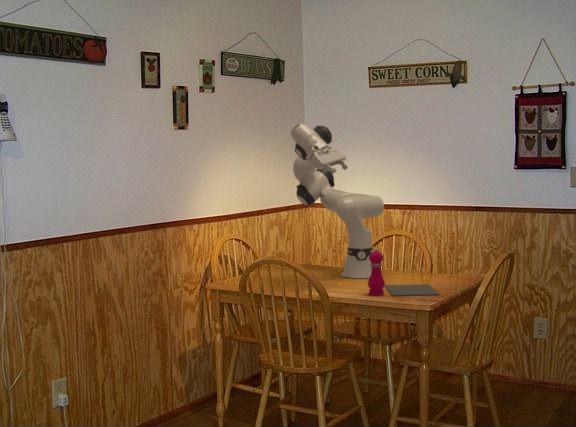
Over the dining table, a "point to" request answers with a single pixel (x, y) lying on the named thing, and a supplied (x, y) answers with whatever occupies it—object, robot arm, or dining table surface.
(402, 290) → the mat
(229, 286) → the dining table surface
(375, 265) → the pepper mill
